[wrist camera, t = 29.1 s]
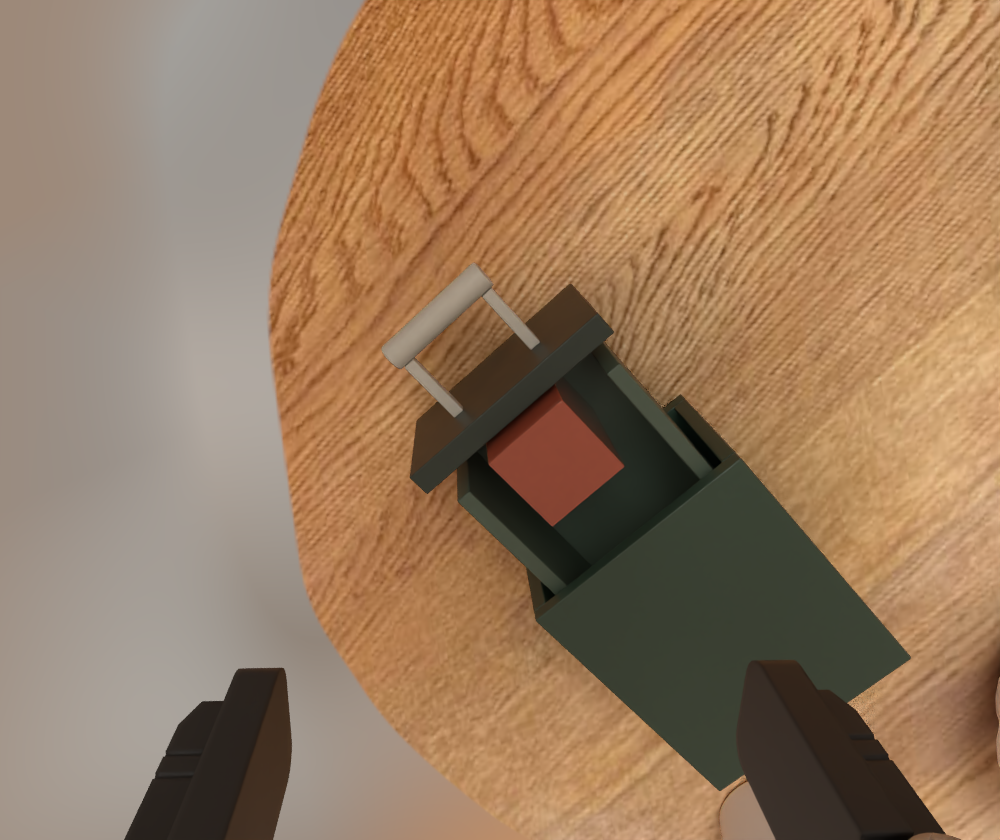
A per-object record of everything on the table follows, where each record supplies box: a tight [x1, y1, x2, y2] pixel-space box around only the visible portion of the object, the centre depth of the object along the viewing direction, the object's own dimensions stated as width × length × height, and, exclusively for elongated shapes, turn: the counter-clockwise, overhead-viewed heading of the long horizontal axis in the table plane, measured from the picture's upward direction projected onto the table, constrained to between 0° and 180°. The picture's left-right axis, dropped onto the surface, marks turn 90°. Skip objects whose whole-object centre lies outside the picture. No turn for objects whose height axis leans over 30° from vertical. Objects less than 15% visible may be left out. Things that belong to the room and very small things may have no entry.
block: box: [486, 377, 624, 526], centre depth 37 cm, size 4×4×8 cm
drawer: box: [381, 262, 715, 595], centre depth 39 cm, size 19×11×8 cm, turn 42°
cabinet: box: [526, 395, 911, 791], centre depth 42 cm, size 16×13×10 cm
